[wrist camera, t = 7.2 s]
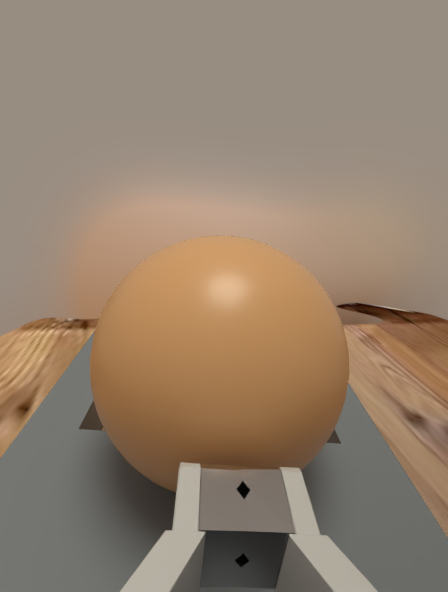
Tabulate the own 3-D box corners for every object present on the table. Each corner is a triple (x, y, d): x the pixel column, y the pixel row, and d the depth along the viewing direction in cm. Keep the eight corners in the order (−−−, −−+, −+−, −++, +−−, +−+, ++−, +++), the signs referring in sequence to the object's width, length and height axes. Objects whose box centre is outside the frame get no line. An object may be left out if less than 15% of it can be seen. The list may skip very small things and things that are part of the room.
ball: (202, 585, 13) (204, 391, 21) (457, 482, 10) (340, 308, 19) (-44, 466, 8) (83, 286, 17) (276, 234, 6) (235, 159, 14)
